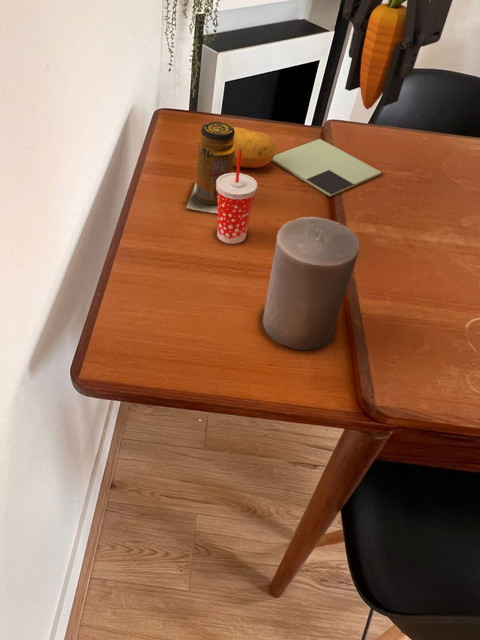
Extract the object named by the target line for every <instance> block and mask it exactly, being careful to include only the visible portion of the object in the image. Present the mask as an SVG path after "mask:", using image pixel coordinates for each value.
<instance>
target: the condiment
mask: <svg viewBox="0 0 480 640" xmlns="http://www.w3.org/2000/svg"><path fill="white" fill-rule="evenodd" d="M233 127H234V126H233V125H232V124H230V123H228V122H225V121H222V120H221V121H220V120H218V121H217V120H215V121H213V120H212V121H209V122H206V123H204V124H203V125H202V127H201V130H200V132H201V135H200V141H199V142H198V147H197V164H196V165H197V167H196V170H197V171H196V182H195V184H194V186H193V190H192V192H191V194H190V197H189V199H188V202H187V204H186V207H185V208H186V209H189V210H193V211H199V212H204V213H210V214H218V191H217V190H216V180H217V179H218V178H219V176H222V175H224V174H228V173H234V168H235V166H234V158H235V145H234V134H235V131H234V128H233Z"/></svg>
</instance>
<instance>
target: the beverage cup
mask: <svg viewBox="0 0 480 640" xmlns="http://www.w3.org/2000/svg"><path fill="white" fill-rule="evenodd" d="M241 154H242V150H241V149H239V150H238V160H237V167H236V170H235V171H236V172H233V173H228V174H224V175H222V176H219V178H218V179H217V180H216V190H217V191H218V213H217V217H216V219H217V226H216V227H217V228H216V230H217V231H216V233H217V234H216V237H217V238H218V240H220V241H221V242H222V243H226V244H231V245H233V244H234V245H235V244H240V243H242V242H244V240H245V239H246V237H247V232H248V227H249V223H250V217H251V212H252V207H253V202H254V197H255V194H256V193H257V189H258V182H257V180H255V178H254V177H252V176H250V175H248V174H245V173H241V172H240V170H241V167H240V163H241Z"/></svg>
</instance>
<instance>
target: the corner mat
mask: <svg viewBox="0 0 480 640" xmlns="http://www.w3.org/2000/svg"><path fill="white" fill-rule="evenodd" d="M271 162H272V163H274V164H275V165H277V166H279V167H280V168H282V169H284V170H286V171H287V172H288V173H290V174H292V175H293V176H295V177H297V178H299V180H301V181H303V182H305V183H307V184H308V185H310V186H311V187H313V188H315V189H316V190H318V191H320V192H321V193H322V194H324V195H326V196H328V197H333V196H335V195H338V194H340V193H342V192H344V191H346V190H349V189H351V188H353V187H355V186H357V185H360V184H362V183H364V182H367V181H369V180H372V179H373V178H376V177H378V176H381V175H382V171H380V170H378V169H376V168H375V167H373V166H371V165H370V164H367V163H366V162H364V161H362V160H360V159H358V158H357V157H354V156H353V155H350V154H349V153H347V152H345V151H343V150H341V149H340V148H338V147H337V146H334V145H332V144H330V143H329V142H326V141H325V140H323V139H322V138H318V139H315V140H312V141H310V142H306V143H304V144H302V145H298V146H296V147H292V148H290V149H287V150H285V151H282V152H280V153H276V154H275V156H274V158H273V159H272V161H271Z"/></svg>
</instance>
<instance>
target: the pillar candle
mask: <svg viewBox="0 0 480 640" xmlns="http://www.w3.org/2000/svg"><path fill="white" fill-rule="evenodd" d="M360 246H361V243H360V239H359V238H358V236H357V235H356V233H355V232H354V231H353V230H352V229H350V228H349V227H347V226H346V225H344V224H342V223H340V222H337V221H335V220H331V219H328V218H324V217H316V216H303V217H297V218H296V219H294V220H289V221H288V222H286V223H284V224H283V225H282V226H281V227H280V228H279V229H278V232H277V235H276V242H275V247H274V254H273V257H272V265H271V270H270V276H269V281H268V286H267V292H266V300H265V305H264V312H263V316H262V324H263V325H262V326H263V328H264V330H265V332H266V334H267V335H268V336H269V338H271V339H272V340H273V341H274V342H275V343H277V344H279V345H281V346H283V347H286V348H290V349H294V350H298V351H312V350H317V349H320V348H322V347H323V346H325V345H326V344H328V343H329V342H330V341H331V340H332V338H333V337H334V331H335V328H336V324H337V323H338V320H339V316H340V312H341V309H342V305H343V302H344V300H345V297H346V294H347V291H348V287H349V285H350V281H351V278H352V275H353V272H354V269H355V267H356V263H357V259H358V256H359V253H360V248H361V247H360Z"/></svg>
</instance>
